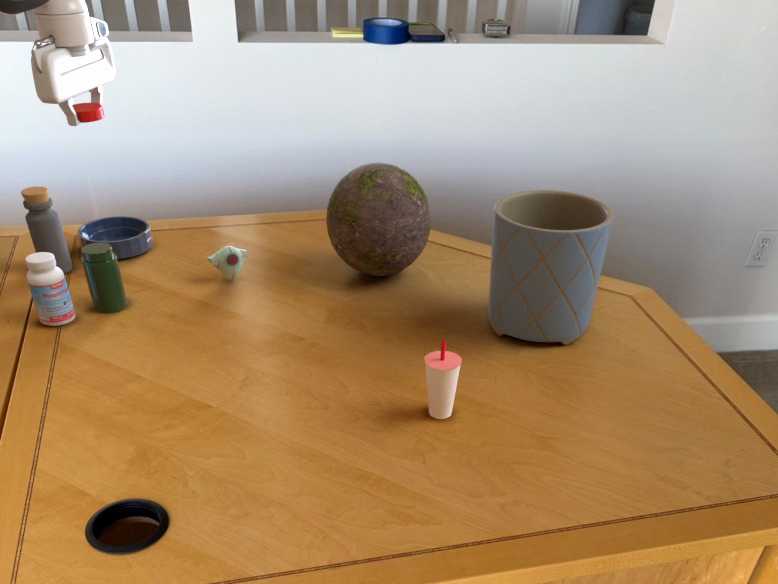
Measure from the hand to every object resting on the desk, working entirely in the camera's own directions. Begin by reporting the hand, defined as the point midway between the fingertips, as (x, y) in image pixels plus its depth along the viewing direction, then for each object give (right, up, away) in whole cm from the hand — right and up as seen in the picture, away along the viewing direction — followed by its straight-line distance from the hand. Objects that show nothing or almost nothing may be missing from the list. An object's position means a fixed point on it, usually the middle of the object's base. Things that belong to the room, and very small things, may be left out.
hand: (86, 119), depth 142 cm
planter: (+82, -39, -4) cm, 91 cm away
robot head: (+25, -27, +8) cm, 38 cm away
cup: (+64, -58, -26) cm, 90 cm away
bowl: (-1, -17, +19) cm, 25 cm away
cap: (0, +1, -1) cm, 2 cm away
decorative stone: (+54, -24, +12) cm, 60 cm away
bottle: (-10, -24, +10) cm, 28 cm away
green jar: (+5, -35, -1) cm, 35 cm away
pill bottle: (-3, -38, -5) cm, 39 cm away
